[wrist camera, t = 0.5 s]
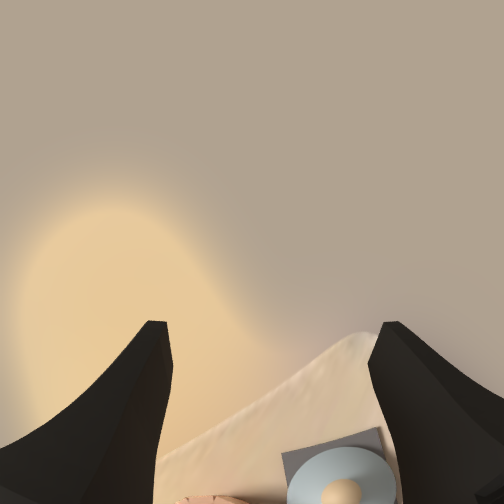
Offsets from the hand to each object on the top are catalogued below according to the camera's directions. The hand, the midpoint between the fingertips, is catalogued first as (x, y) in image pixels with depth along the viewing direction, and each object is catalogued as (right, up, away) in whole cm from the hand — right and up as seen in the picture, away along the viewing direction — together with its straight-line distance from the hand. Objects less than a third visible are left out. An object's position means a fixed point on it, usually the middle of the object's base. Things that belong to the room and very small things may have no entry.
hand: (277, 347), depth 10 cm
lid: (+6, -16, +8) cm, 18 cm away
